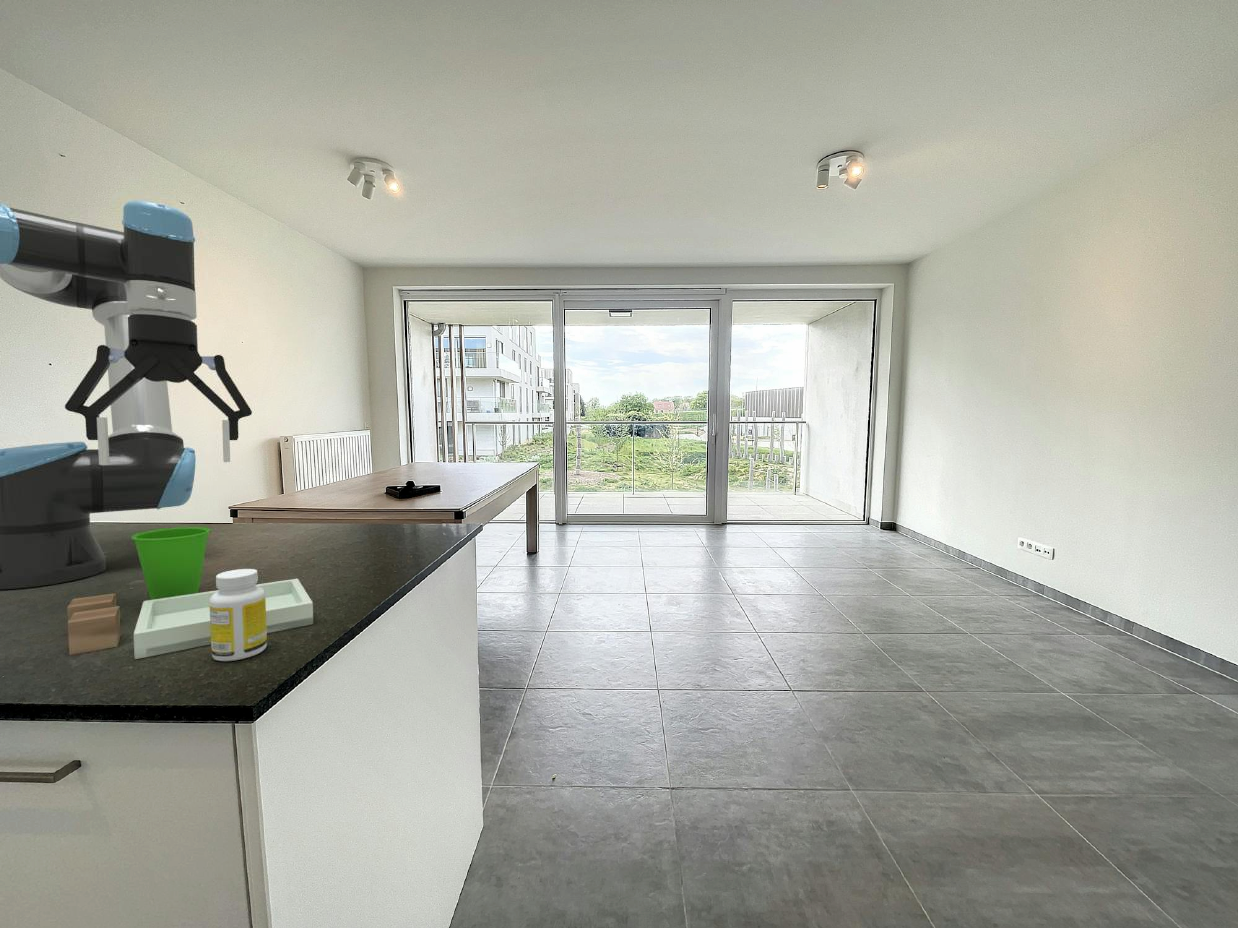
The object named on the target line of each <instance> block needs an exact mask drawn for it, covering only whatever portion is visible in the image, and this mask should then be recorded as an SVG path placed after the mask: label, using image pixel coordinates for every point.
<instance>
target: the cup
mask: <svg viewBox="0 0 1238 928" xmlns="http://www.w3.org/2000/svg"><path fill="white" fill-rule="evenodd" d="M210 532H212V530H211V528H209V527H205V526H177V527H167V528H166V527H165V528H159V529H158V528H156V529H153V530H150V529H149V530H145V531H141V532H137V533H133V534H132V536H131V537H130V539H131V540H134V545H135V547H136V551H137V554H138V558H139V563H140V566H141V570H142V574H143V577H144V581H145V585H146V588H147V592H148V596H149V600H155V599H161V598H168V597H175V596H182V595H189V594H196V593H200V585H201V580H202V579H201V578H202V572H203V567H204V561H205V555H206V554H205V553H206V546H207V541H208V537H209V536H208V535H209V533H210Z"/></svg>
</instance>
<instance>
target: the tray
mask: <svg viewBox="0 0 1238 928" xmlns="http://www.w3.org/2000/svg"><path fill="white" fill-rule="evenodd" d="M256 586H258V587H260V588H262V589H263V590H264V592H265V603H266V624H267V634H270V633H275V632H281V631H284V630H285V631H286V630H290V629H295V628H300V627H306V626H310V625H314V602H313V600H312V598H310V596H309V595H308V594H309V593H308V592H306V589H305V588H304V586H303V585H302V583H301V582H300V580H299V579H298V578H293V579H287V580H286V579H284V580H278V581H271V582H265V583H258V584H257V583H256ZM217 592H219V589H217V590H210V591H205V592H204V591H203V592H198V593H196V594H189V595H182V596H175V597H168V598H161V599H155V600H150V599H149V600H143V602H142V605H141V609H140V611H139V612H140V613H139V615H138V619H137V622H136V625H135V628H134V631H133V651H134V660H137V659H143V658H149V657H155V656H158V655H163V654H169V653H173V652H179V651H183V650H189V649H194V648H199V647H203V646H205V647H206V646H209V645H210V646H211V630H210V606H209V605H210V598H211V597H212V596H213V595H214V594H215V593H217Z"/></svg>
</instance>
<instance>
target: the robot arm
mask: <svg viewBox="0 0 1238 928" xmlns="http://www.w3.org/2000/svg"><path fill="white" fill-rule="evenodd" d="M122 212H123V215H122V216H123V217H122V220H121V224H122V226H123V231H120V230H116V229H110V228H106V227H102V226H97V225H93V224H87V223H83V222H78V221H72V220H67V219H62V218H59V217H55V216H49V215H45V214H41V213H40V214H39V213H36V212H32V211H28V210H22V209H18V208H14V207H9V206H7V205H5V204H3V203H2V204H1V203H0V279H1V280H3V282H5V283H6V284H7V285H9V286H11V287H13V288H14V289H16V290H18V291H20V292H22V293H24V294H26V295H29V296H31V297H35V298H38V299H40V300H43V301H46V302H49V303H53V304H56V305H57V304H58V305H61V306H64V307H71V308H72V307H73V308H78V309H85V310H92V317H93V319H94V320H96V322H97V323H98V324H100V325H102V326H103V328H104V336H105V337H104V339H105V340H104V341H105V344H100V345H98V346H97V348H96V354H95V355H96V356H95V357H96V358H95V361H94V363H93V364H92V365H91V367H90V368H89V370H88V371H87V373H86V374H85V376H84V377H83V378H82V380H81V381H80V383H79V384H78V386H77V387H76V388H75V390H74V391H73V393H72V394H71V396H70V398H69V399H68V400H67V402H66V403H65V405H64V409H65V410H67V411H68V412H72V413H75V414H79V415H82V416H83V417H84V419H85V435H86V438H87V440H88V441H97V449H88V445H87V444H86V443H85V441H67V442H56V443H55V442H54V443H46V444H45V443H43V444H35V445H33V444H32V445H23V446H14V447H7V448H1V449H0V590H13V589H14V590H15V589H23V588H24V589H25V588H26V589H27V588H33V587H42V586H49V585H55V584H59V583H60V584H61V583H67V582H71V581H76V580H80V579H84V578H88V577H92V576H95V575H98V574H100V573H102V572H104V571H106V569H107V560H106V555H105V554H104V552H103V550H102V548H101V546H100V544H99V543H98V541H97V539H96V537H95V535H94V533H93V531H92V530H91V529H92V528H91V521H90V520H91V517H90V514H95V513H96V514H98V513H99V514H100V513H114V512H125V511H127V512H128V511H138V510H141V511H142V510H151V509H152V510H154V509H156V510H161V509H165V508H173V507H180V506H183V505H185V504H186V503H187V502H189V500H190V498H191V496H192V492H193V487H194V481H195V473H196V453H195V452H196V450H195V449H194V448H190V447H184V445H185V444H184V439H183V438H182V437H181V436H180V435H178V434H176V433H175V432H173V427H172V425H173V424H172V414H171V407H170V398H169V397H170V395H169V387H168V386H169V385H168V382H170V383H175V384H180V383H184V382H186V381H188V382H189V383H191V385H192V386H194V387H195V388H196V390H198V391H199V392H200V393H201V394H202V395H203V396H204V397H205V398H207V399H208V401H210V402H211V403H212V404H213V406H215V407H216V408H217V409H218V410H219V411H220V412H222V414H224V416H226V418H227V419H222V420H221V422H222V426H221V427H222V454H223V455H222V456H223V462H224V463H231V446H230V445H231V444H230V443H231V442H230V441H238V440H239V439H238V438H239V420H241V419H242V418H246V417H250V416H252V414H253V411H252V409H251V407H250V406H249V404H248V402H247V401H246V400H245V397H244V396H243V395H242V393H241V392H240V390H239V388H238V386H237V385H236V384H235V382H234V381H233V379H232V378H231V376H230V374H229V372H228V371H227V369H226V363H225V358H224V356H223V355H221V354H216V355H211V356H210V355H209V356H208V355H207V356H205V355H204V356H203V355H202V356H201V355H200V353H199V350H198V349H199V348H198V326H197V324H196V323H195V321H193V320H195V319H197V317H198V316H197V296H196V295H197V293H196V286H195V284H196V283H195V282H196V280H195V242H196V238H195V237H194V230H193V229H194V227H193V222H192V219H191V217H189V216H188V215H187V214H186V213H185V212H183V211H181V210H179V209H177V208H175V207H172V206H169V205H164V204H162V203H157V202H154V201H153V202H152V201H145V200H132V201H127V202H125V204H124V205H123V211H122ZM202 364H205V365H207V367H208V369H209V370H211V371H215V372H216V375H217V377H218V378H219V380H220V381H221V383H222V384H223V386H224V387H225V389H226V391H227V392H228V394H229V396H230V398H231V399H232V400H233V401H234V403H235V405H236V407H237V408H238V410H234V409H233V408H231V407H230V405H228V403H226V402H225V401H224V400H223V399H222V398H221V397H220V396H219V395H218V394H217V393H216V392H215V391H214V390H212V388H211V387H209V386H208V385H207V384H206V383H205V382H204V380H202V379H201V378H200V377H199V376H198V374H196V373H195V372H196V371H197V370H198V369H199V368H200V367H201V366H202ZM106 373H107V374H108V375H107V376H108V390H107V391H106V392H105V393H104V394H103V395H101V396H100V397H99V398H97V399H96V400H95V401H94V402H92V403H91V404H90V405H89V406H88V405H85V404H86V402H87V400H88V399H89V398H90V396H91V395H92V394H93V392H94V390H95V389H96V387H97V386H98V385H99V383H100V381H101V380H102V379H103V377H104V376H105V374H106ZM109 407H110V412H111V425H112V426H111V427H112V433H110V434H109V427H108V417H100V415H101V414H102V413H103V412H104V411H105V410H107V409H108V408H109Z"/></svg>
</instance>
